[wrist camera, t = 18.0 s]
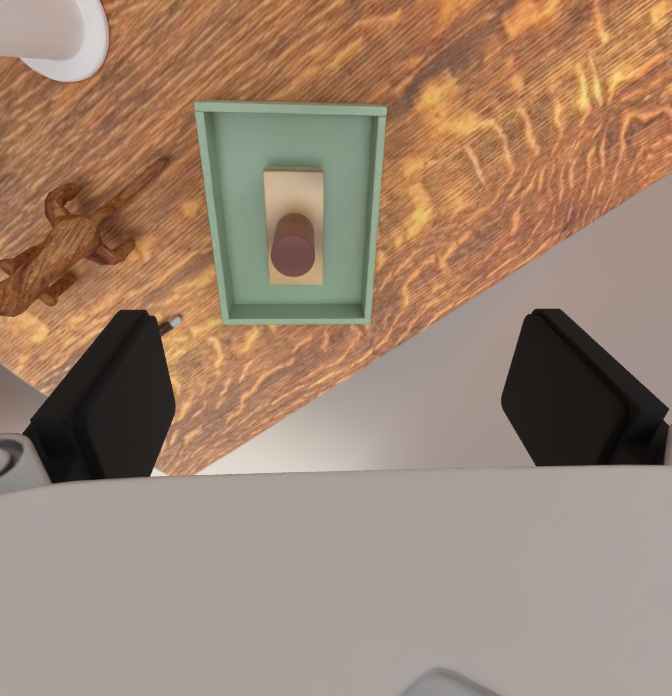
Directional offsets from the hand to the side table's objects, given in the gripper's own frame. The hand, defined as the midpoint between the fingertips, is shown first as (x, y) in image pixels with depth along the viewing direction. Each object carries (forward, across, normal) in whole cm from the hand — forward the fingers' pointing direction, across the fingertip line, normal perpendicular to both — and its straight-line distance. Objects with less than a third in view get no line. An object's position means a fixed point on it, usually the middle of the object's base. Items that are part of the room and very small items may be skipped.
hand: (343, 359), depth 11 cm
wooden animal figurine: (+28, +19, +5) cm, 35 cm away
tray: (+28, +2, +4) cm, 29 cm away
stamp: (+28, +2, +4) cm, 28 cm away
